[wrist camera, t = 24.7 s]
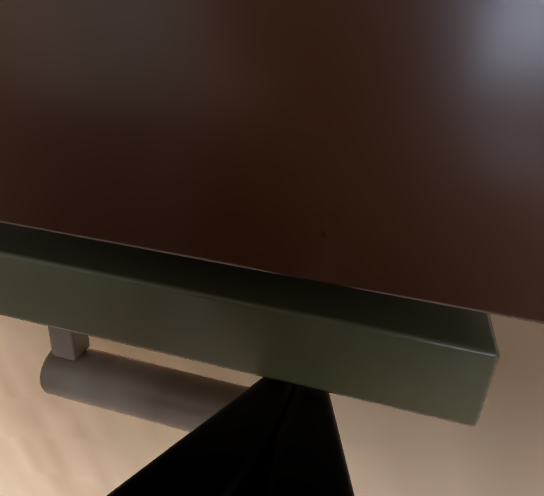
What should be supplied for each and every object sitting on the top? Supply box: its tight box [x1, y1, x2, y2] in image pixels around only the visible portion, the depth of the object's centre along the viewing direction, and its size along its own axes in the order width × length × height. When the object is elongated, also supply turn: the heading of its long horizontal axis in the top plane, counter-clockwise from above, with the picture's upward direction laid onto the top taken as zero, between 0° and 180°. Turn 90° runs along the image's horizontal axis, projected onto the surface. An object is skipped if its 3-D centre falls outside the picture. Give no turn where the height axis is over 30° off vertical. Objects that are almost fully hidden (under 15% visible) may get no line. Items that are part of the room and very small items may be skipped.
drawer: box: [0, 222, 500, 432], centre depth 7 cm, size 16×11×4 cm
